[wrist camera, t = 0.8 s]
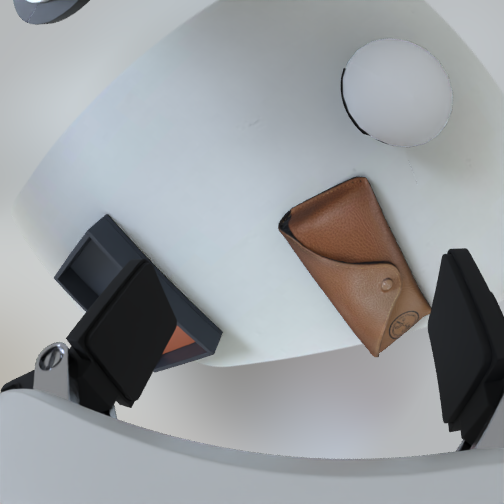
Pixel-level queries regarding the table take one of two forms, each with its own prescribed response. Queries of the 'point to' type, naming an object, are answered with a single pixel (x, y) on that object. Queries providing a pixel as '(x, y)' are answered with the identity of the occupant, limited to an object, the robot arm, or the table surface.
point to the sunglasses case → (356, 262)
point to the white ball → (396, 92)
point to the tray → (106, 269)
